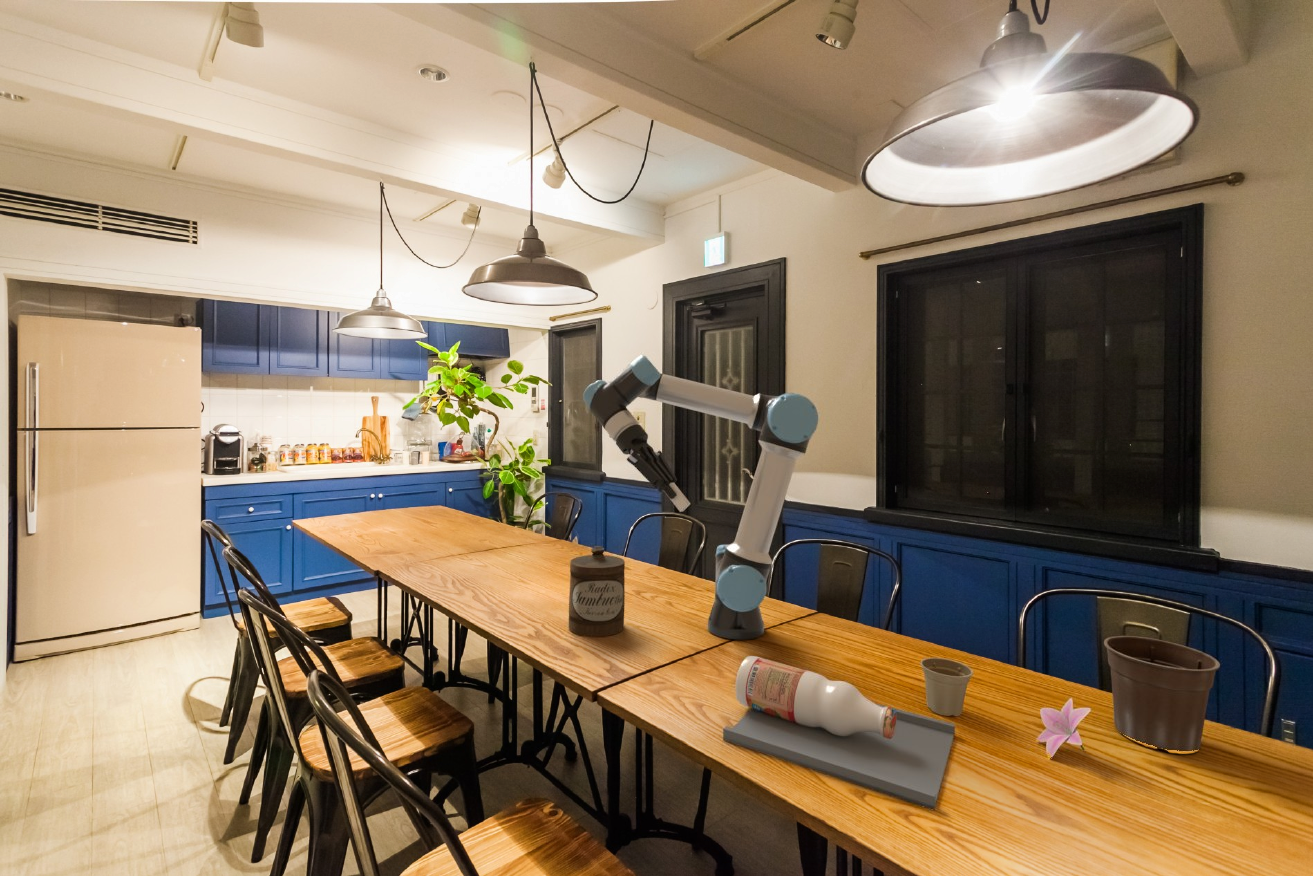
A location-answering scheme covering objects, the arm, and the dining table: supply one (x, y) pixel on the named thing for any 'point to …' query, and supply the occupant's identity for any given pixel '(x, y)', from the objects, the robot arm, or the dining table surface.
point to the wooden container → (596, 594)
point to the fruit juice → (810, 699)
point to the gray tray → (858, 752)
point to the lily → (1061, 726)
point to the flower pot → (945, 685)
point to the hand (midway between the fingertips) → (685, 507)
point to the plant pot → (1160, 691)
